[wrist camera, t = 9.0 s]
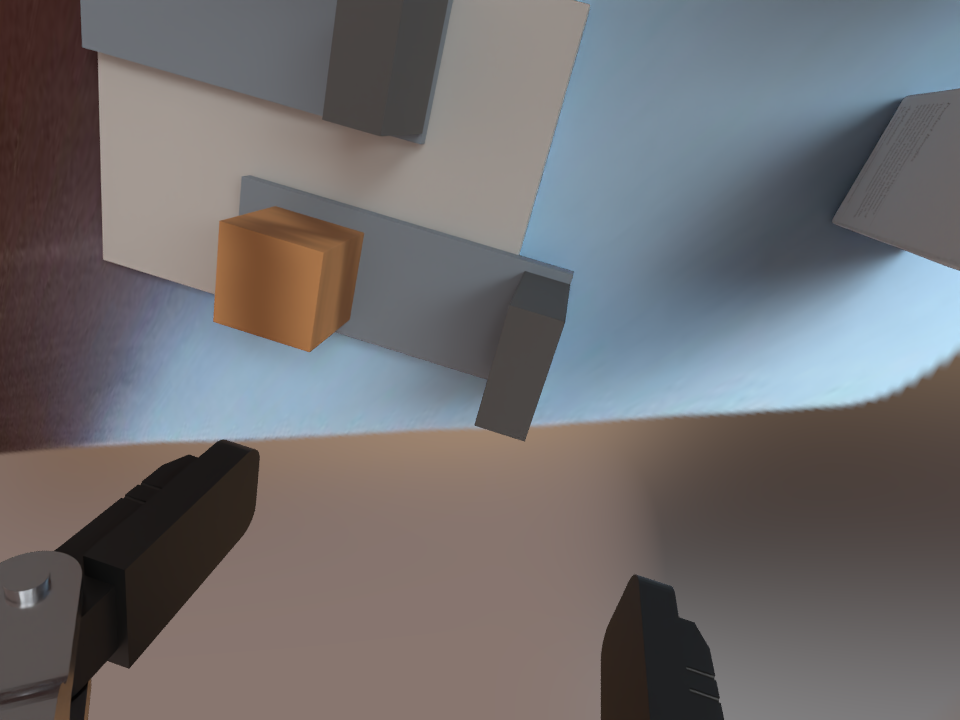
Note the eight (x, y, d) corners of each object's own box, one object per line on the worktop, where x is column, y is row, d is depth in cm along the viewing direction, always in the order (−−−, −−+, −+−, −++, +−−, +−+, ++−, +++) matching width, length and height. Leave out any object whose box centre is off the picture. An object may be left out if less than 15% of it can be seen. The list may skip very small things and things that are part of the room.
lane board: (590, 8, 26) (590, 4, 25) (485, 371, 34) (482, 378, 33) (109, -120, 28) (93, -128, 27) (115, 255, 35) (103, 259, 35)
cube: (364, 232, 30) (323, 252, 25) (349, 319, 32) (309, 352, 27) (275, 205, 30) (219, 220, 26) (266, 293, 32) (213, 321, 28)
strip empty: (456, -19, 26) (413, -63, 19) (424, 143, 29) (378, 149, 22) (90, -117, 27) (-61, -188, 21) (94, 48, 30) (-37, 29, 23)
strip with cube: (573, 271, 30) (568, 310, 23) (534, 387, 32) (521, 450, 26) (249, 175, 31) (163, 188, 25) (240, 295, 34) (161, 335, 27)
